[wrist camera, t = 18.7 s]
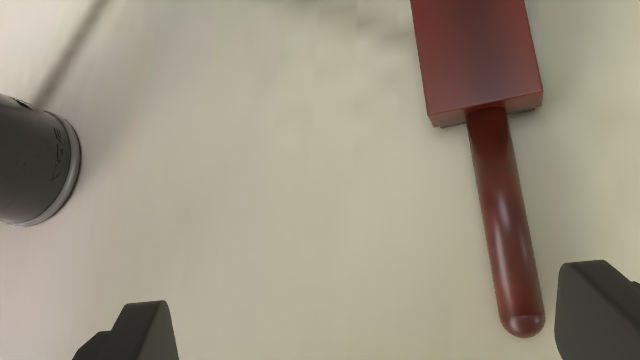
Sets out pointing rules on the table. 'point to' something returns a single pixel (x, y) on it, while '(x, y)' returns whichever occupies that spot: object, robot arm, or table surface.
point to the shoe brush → (488, 128)
